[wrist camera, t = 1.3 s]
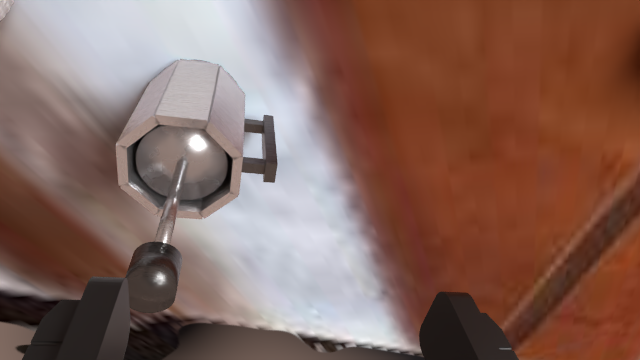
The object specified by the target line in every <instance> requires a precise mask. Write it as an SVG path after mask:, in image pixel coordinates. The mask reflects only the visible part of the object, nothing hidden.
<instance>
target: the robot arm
mask: <svg viewBox="0 0 640 360" xmlns="http://www.w3.org/2000/svg"><path fill="white" fill-rule="evenodd" d="M129 330H130V308H129V291H128V280H127V278H114V277H92V278H91V279H90V280H89V282H88V284H87V286H86V289H85V291H84V293H83V296H82V298H81V300H61V301H60V302H59V303H58V304H57V305H56V306H55V307H54V308H53V309H52V310H51V311H50V312H49V313H48V314H47V315H46V316H45V317H44V318H43V319H42V320H41V322H40V324H39V326H38V328H37V330H36V332H35V335H34V337H33V339H32V341H31V345H30V346H29V347H28V349H27V351H26V353H25V355H24V357H23V359H22V360H123V357H124V353H125V350H126V346H127V342H128V337H129ZM419 340H420V347H421V350H422V353H423V356H424V359H425V360H519V359H518V358H517V356H516V354H515V352H514V351H512V350H511V348H512V347H511V345H510V343H509V342H508V340H507V338H506V336H505V335H504V333H503V331H502V329H501V328H500V327H499V326H498V325H497V324H496V323H495V322H494V321H493V320H492V319H491V318H490V317H489V316H488V315H487V314H486V313H480V311H479V309H478V308H477V306H476V304H475V302H474V300H473V299H472V297H471V296H470V295H469V294H468V293H460V292H439V293H438V294H437V295H436V297H435V299H434V301H433V303H432V305H431V307H430V309H429V311H428V313H427V315H426V317H425V319H424V321H423V323H422V325H421V328H420V334H419Z"/></svg>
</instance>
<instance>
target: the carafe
mask: <svg viewBox="0 0 640 360" xmlns="http://www.w3.org/2000/svg"><path fill="white" fill-rule="evenodd" d="M244 117H245V93H244V92H243V91H242V90H241V88H240V87H239V86H238V84H237V82H236V81H235V80H234V78H233V77H232V76H231V75H230V74H229V73H228V72H226V71H225V70H224V69H223V67H222V66H219V64H213V63H210V62H207V61H202V60H184V59H180V60H177V61H175V62H174V63H173V64H172V65H170V66H168V67H167V68H165V69H164V70H163V71H162V72H161V73H160V74H159V75H158V76H156V77H155V78H154V79H153V80H151V81H150V83H149V85H148V86H147V88H146V90H145V92H144V94H143V96H142V97H141V99H140V101H139V103H138V105H137V106H136V108H135V110H134V112H133V114H132V116H131V117H130V119H129V121H128V123H127V125H126V126H125V128H124V130H123V132H122V134H121V136H120V137H119V139H118V141H117V143H116V158H117V172H118V185H120V188H121V189H122V190H124V191H125V192H126V193H127V194H129V195H130V196H131V197H132V198H134V199H135V200H136V201H137V202H139V203H140V204H141V205H142V206H144V207H145V208H146V209H147V210H149V211H150V212H151V213H152V214H154V215H156V214H157V216H162V213H163V209H164V206H165V202H166V199H167V197H166V196H164V195H162V194H160V193H158V192H156V191H155V190H153V189H152V188H150V187H149V186H148V185H147V184H146V183H145V181H144V180H143V179H142V177H141V176H140V174H139V172H138V169H137V166H136V152H137V149H138V146H139V144H140V142H141V140H142V138H143V137H144V135H145V134H146V133H147V132H149V131H150V130H151V129H153V128H154V127H155V126H157V125H159V124H161V125H170V126H179V127H188V128H197V129H205V130H206V131H207V133H208V134H209V135H210V136H211V137H212V138H213V139H214V140H215V141H216V142H217V143H218V144H219V145H220V146H221V147H222V148H223V149H224V150H225V151H226V152H227V157H228V167H227V174H226V177H225V179H224V181H223V182H222V184H221V185H220V186H219V187H218V188H217V189H216V190H215V191H214V192H212V193H211V194H209V195H207V196H205V197H202V198H199V199H193V200H180V204H179V208H178V212H177V216H176V217H177V218H192V219H202V217H203V218H204V219H205V218H206V217H208V216H209V215H211V214H212V213H214V212H215V211H217V210H218V209H220V208H221V207H223V206H224V205H226V204H227V203H229V202H230V201H232V200H233V199H235V198H236V197H238V195H239V189H240V180H241V172H245V173H256V174H263V182H272V183H274V182H275V176H276V170H277V154H276V143H275V132H274V121H273V116H269V115H264V117H263V121H258V120H249V119H244ZM244 132H252V133H261V134H262V154H263V159H257V158H247V157H243V143H244Z"/></svg>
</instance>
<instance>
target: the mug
mask: <svg viewBox="0 0 640 360" xmlns="http://www.w3.org/2000/svg"><path fill="white" fill-rule="evenodd" d="M13 3H14V0H0V21H1V20H2V19H3V18H5V15H6V13H7V12H9V10H10V7H11V6H12V5H13Z"/></svg>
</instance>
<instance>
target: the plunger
mask: <svg viewBox="0 0 640 360" xmlns="http://www.w3.org/2000/svg"><path fill="white" fill-rule="evenodd" d="M136 166H137V169H138V172H139V174H140V176H141V177H142V179H143V180H144V181H145V183H146V184H147V185H148V186H149V187H150V188H152V189H153V190H155V191H156V192H158V193H160V194H162V195H164V196H166V197H167V199H166V202H165V206H164V209H163V213H162V216H161V220H160V223H159V227H158V230H157V234H156V237H155V241H154V242H148V243H145V244H142V245H141V246H139V247H138V248H137V249H136V250H135V251H134V253H133V256H132V259H131V262H130V265H129V268H128V271H127V274H126V277H125V278H127V280H128V291H129V307H130V308H131V309H133V310H136V311H139V312H144V313H156V312H160V311H163V310H165V309H167V308H169V307H170V306H171V305H172V304H173V302H174V300H175V296H176V291H177V286H178V281H179V275H180V270H181V265H182V256H181V254H180V252H179V251H178V250H177V249H176V248H175V247H173V246H171V245H170V241H171V237H172V233H173V229H174V225H175V220H176V216H177V212H178V208H179V204H180V200H193V199H199V198H202V197H205V196H207V195H209V194H211V193H212V192H214V191H215V190H216V189H217V188H218V187H219V186H220V185H221V184H222V182H223V181H224V179H225V177H226V174H227V167H228V157H227V152H226V151H225V150H224V149H223V148H222V147H221V146H220V145H219V144H218V143H217V142H216V141H215V140H214V139H213V138H212V137H211V136H210V135H209V134H208V133H207V131H206V130H205V129H197V128H188V127H179V126H170V125H161V124H159V125H157V126H155V127H154V128H153V129H151V130H150V131H149V132H147V133H146V134H145V135H144V137H143V138H142V140H141V142H140V144H139V146H138V149H137V152H136Z"/></svg>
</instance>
